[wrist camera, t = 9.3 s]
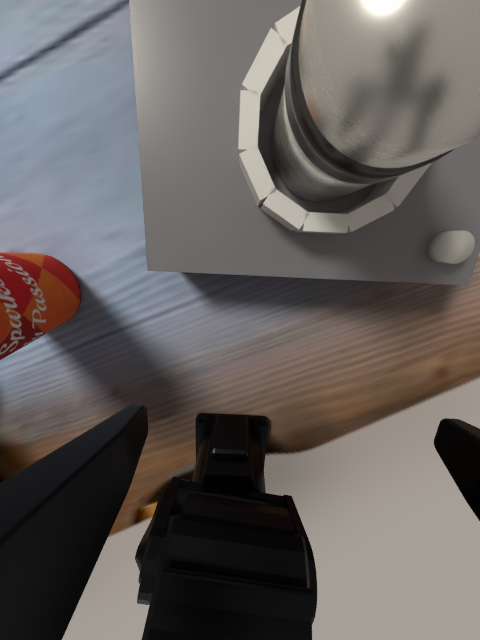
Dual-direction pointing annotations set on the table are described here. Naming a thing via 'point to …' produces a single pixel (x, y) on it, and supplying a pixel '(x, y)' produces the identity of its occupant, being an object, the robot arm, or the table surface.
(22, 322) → the paper cup
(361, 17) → the lens
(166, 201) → the camera body
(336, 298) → the table surface
